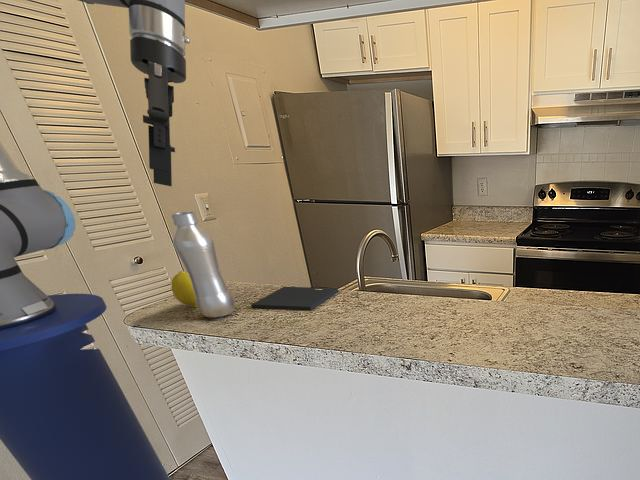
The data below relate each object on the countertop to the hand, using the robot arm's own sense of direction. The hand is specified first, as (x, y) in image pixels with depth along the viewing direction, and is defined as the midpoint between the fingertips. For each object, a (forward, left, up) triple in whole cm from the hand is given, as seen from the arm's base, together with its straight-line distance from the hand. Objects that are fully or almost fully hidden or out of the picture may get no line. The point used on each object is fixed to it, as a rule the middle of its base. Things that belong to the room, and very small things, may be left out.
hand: (161, 178), depth 72 cm
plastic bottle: (+3, -1, -26) cm, 26 cm away
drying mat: (+14, +9, -26) cm, 31 cm away
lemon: (-6, +2, -26) cm, 27 cm away
